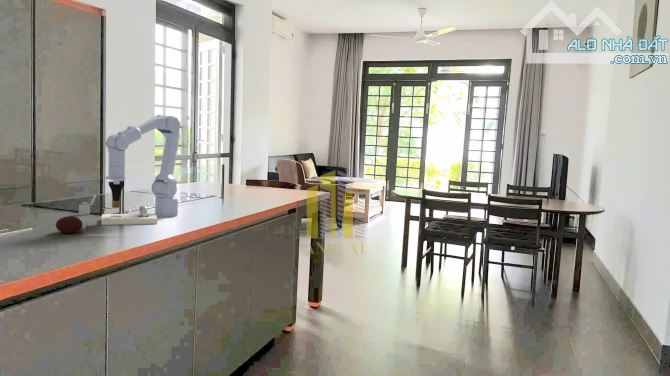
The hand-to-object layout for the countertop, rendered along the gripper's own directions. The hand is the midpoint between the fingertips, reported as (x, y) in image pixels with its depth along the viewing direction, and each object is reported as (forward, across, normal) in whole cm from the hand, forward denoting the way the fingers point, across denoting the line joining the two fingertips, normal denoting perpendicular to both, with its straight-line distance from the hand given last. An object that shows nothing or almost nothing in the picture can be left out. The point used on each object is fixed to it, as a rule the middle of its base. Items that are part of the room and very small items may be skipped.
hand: (116, 200), depth 186 cm
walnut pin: (+3, 0, 0) cm, 3 cm away
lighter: (+10, -22, -11) cm, 26 cm away
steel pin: (+9, 0, +10) cm, 13 cm away
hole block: (+10, 0, +5) cm, 11 cm away
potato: (+10, +14, -15) cm, 23 cm away
